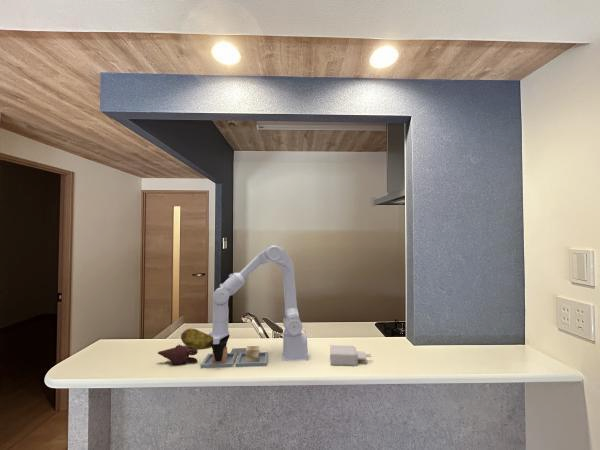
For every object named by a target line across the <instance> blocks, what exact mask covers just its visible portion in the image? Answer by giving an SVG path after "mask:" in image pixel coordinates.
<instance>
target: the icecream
mask: <svg viewBox="0 0 600 450" xmlns="http://www.w3.org/2000/svg"><path fill="white" fill-rule="evenodd" d="M198 353H199V352H198V349H194V348H190V349H189V348H188V347H187V346H186V345H185V346H184V345H182V344H177V345H176V346H175V347H172V348H168V349H164V350H160V351H158V352H157V354H158V355H160V356H162V357H163V358H165V359H167V360H169V361H170V362H171V364H172V366H174V365H182V364H185V363H186V362H187V363H191V364H198V359H197V358H196V357H193V356H196V355H198Z"/></svg>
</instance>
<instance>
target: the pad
mask: <svg viewBox="0 0 600 450" xmlns="http://www.w3.org/2000/svg"><path fill="white" fill-rule="evenodd" d="M246 349H247V347H238V348H237V347H235V348H234V347H233V348H232V349H231V350H230V353H237V356H239V353H246Z"/></svg>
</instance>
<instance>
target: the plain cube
mask: <svg viewBox="0 0 600 450" xmlns="http://www.w3.org/2000/svg"><path fill="white" fill-rule="evenodd" d="M246 348H247V349H246V362H258V361H259V352H260V345H247V347H246Z"/></svg>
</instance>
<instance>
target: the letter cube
mask: <svg viewBox="0 0 600 450" xmlns="http://www.w3.org/2000/svg"><path fill="white" fill-rule="evenodd" d="M227 353H228V346H226V347H224V350H223V356H222V360H221V361H215V358H214V353H213V350H212V352H211V354H212V363H225V362H226V360H227Z"/></svg>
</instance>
